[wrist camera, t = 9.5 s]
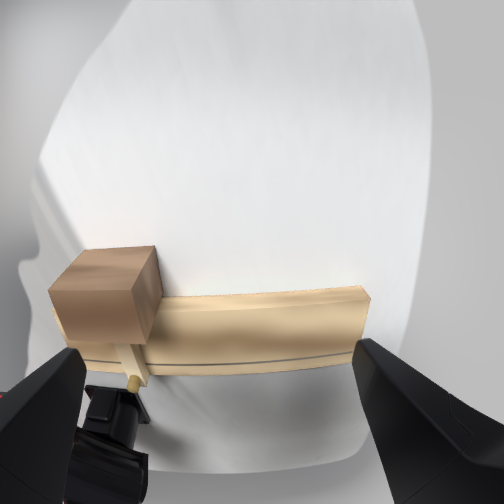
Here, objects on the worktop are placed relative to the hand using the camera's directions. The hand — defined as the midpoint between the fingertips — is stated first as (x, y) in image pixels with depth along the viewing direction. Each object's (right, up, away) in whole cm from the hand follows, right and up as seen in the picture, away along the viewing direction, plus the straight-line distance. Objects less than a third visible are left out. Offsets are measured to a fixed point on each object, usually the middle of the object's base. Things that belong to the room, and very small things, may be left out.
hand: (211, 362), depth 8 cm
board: (-3, -3, +16) cm, 16 cm away
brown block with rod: (-9, -1, +14) cm, 17 cm away
